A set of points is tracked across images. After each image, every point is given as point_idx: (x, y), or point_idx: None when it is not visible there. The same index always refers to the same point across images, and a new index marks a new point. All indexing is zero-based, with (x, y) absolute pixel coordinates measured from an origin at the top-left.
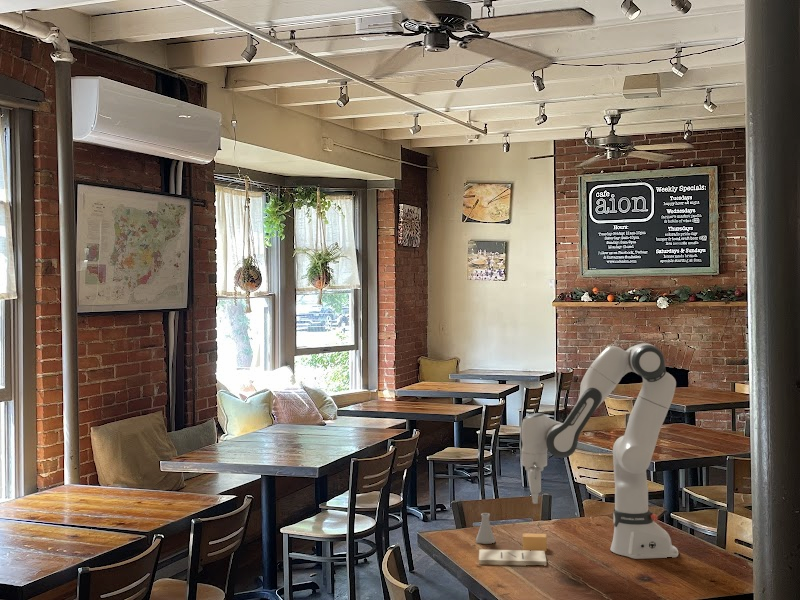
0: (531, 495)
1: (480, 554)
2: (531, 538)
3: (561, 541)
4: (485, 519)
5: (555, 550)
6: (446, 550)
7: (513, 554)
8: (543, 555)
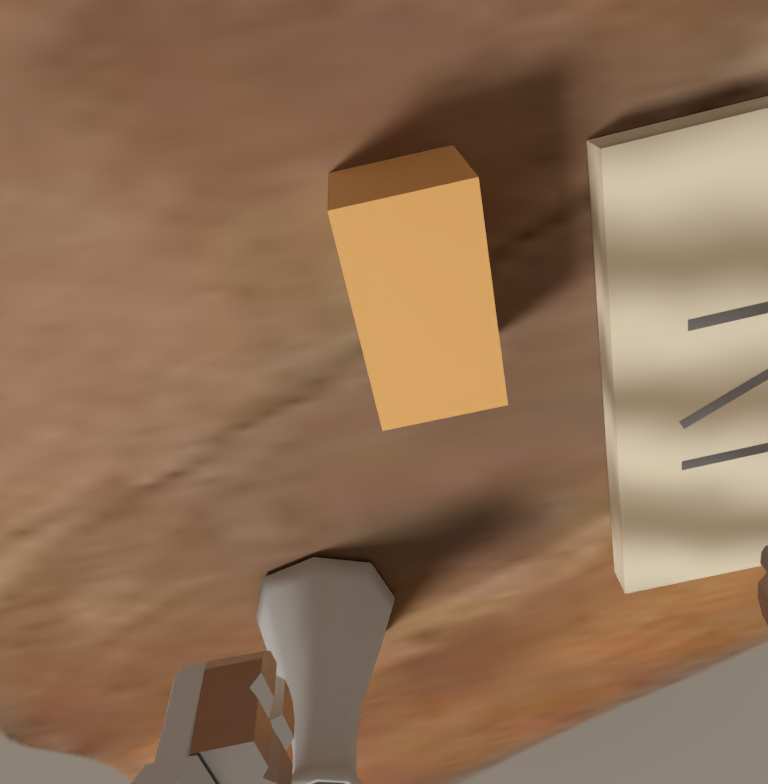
0: (293, 736)
1: (744, 562)
2: (495, 325)
3: (27, 49)
4: (353, 755)
5: (396, 57)
6: (570, 711)
7: (737, 379)
8: (763, 127)
